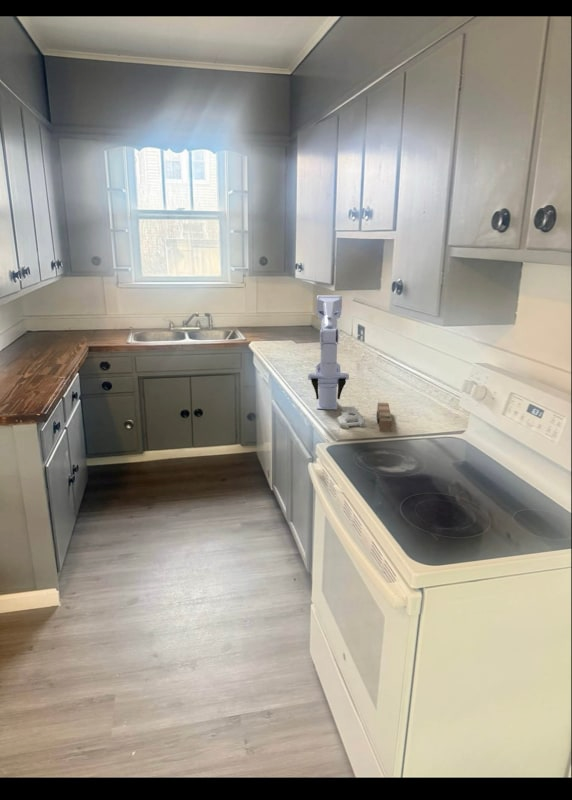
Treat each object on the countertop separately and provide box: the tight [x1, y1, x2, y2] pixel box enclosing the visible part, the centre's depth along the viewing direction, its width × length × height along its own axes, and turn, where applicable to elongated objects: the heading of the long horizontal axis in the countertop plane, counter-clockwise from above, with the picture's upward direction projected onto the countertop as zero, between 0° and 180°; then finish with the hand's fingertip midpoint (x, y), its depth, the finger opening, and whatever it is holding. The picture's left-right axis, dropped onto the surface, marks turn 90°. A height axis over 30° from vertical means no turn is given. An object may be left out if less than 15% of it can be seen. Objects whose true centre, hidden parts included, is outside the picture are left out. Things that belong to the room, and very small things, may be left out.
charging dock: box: [376, 402, 393, 432], centre depth 192 cm, size 20×5×4 cm, turn 173°
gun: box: [336, 406, 367, 430], centre depth 194 cm, size 18×3×10 cm
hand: (327, 398), depth 190 cm, fingers open, 7 cm apart
